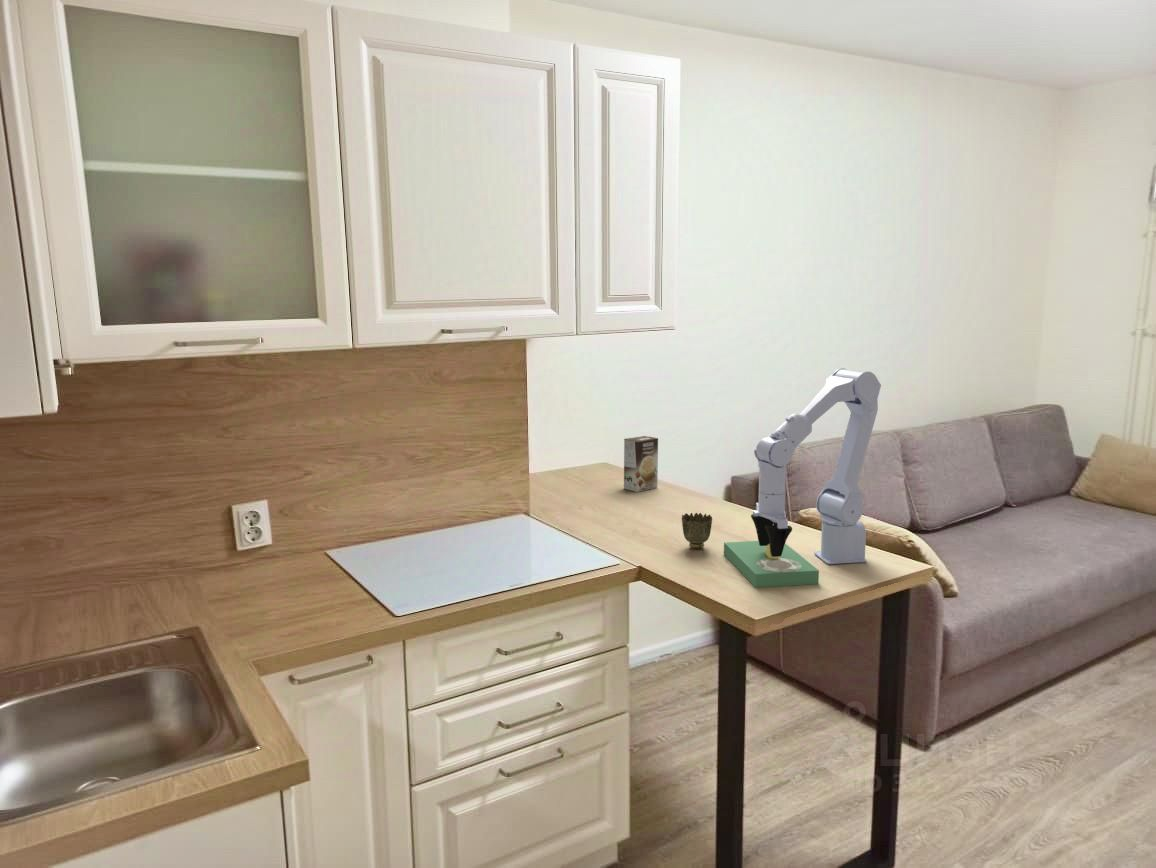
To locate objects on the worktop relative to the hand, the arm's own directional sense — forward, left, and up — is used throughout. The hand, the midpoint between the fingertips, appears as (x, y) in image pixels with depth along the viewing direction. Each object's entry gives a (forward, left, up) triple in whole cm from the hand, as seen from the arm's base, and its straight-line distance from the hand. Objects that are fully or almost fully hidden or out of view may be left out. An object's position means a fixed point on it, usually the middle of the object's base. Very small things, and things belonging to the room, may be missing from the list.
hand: (770, 550), depth 186 cm
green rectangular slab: (0, -1, -4) cm, 4 cm away
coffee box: (+13, -79, -5) cm, 80 cm away
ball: (0, +1, 0) cm, 1 cm away
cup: (+12, -18, -5) cm, 22 cm away
